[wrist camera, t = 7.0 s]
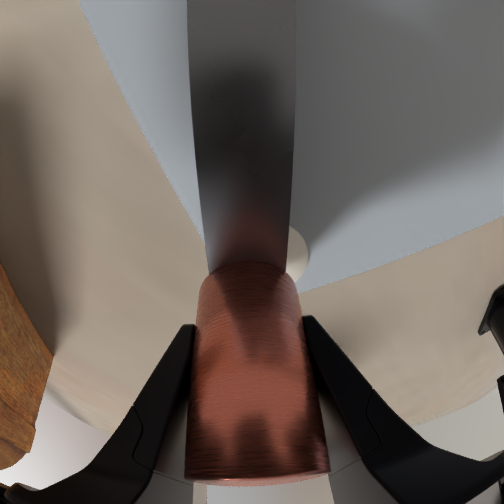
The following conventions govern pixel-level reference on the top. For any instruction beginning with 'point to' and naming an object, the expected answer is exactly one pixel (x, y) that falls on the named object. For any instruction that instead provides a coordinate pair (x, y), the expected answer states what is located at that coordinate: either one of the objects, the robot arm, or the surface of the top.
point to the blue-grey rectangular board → (345, 121)
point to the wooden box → (19, 376)
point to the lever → (248, 255)
